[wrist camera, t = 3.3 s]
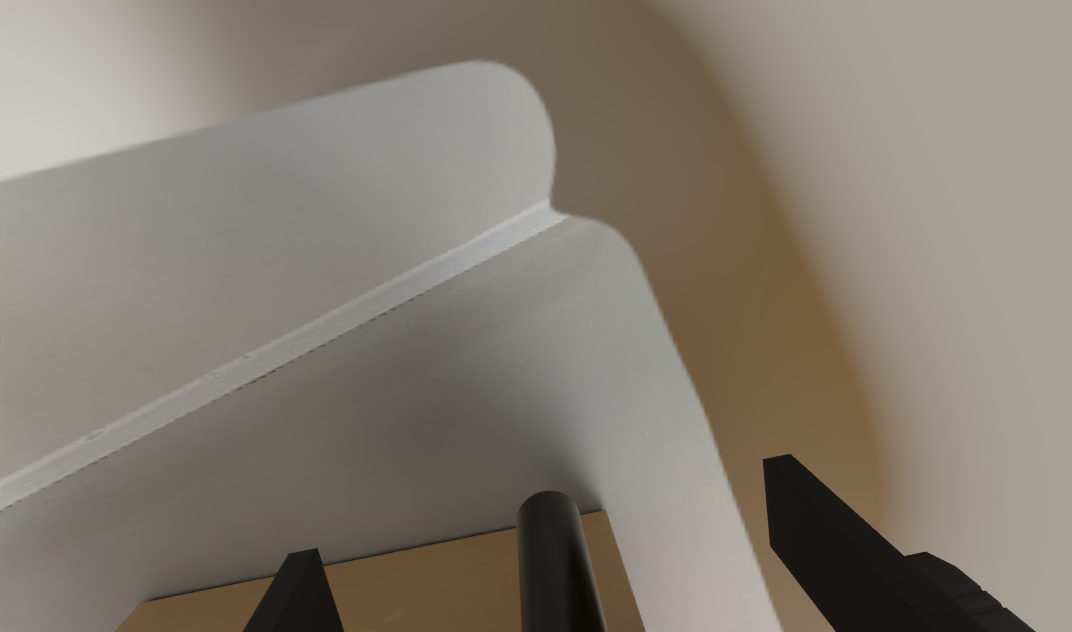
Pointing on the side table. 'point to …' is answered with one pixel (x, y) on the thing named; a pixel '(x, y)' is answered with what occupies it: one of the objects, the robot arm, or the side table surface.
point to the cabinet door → (453, 584)
